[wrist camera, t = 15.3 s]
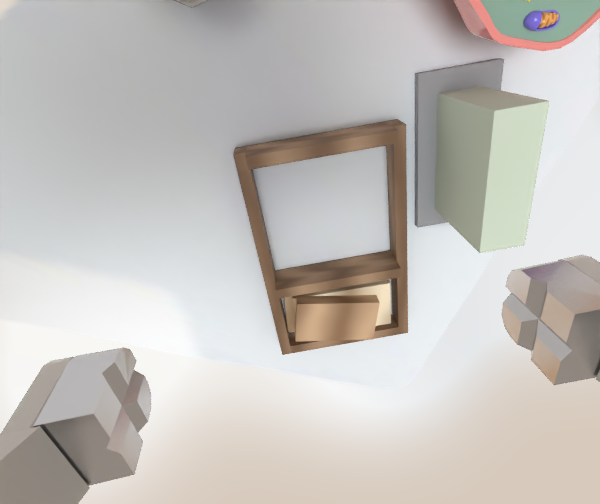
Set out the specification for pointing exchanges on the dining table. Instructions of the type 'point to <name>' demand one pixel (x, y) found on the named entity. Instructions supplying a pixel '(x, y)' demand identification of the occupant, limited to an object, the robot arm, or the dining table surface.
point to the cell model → (529, 21)
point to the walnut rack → (342, 269)
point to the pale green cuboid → (488, 163)
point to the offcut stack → (339, 312)
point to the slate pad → (426, 124)
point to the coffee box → (191, 2)
